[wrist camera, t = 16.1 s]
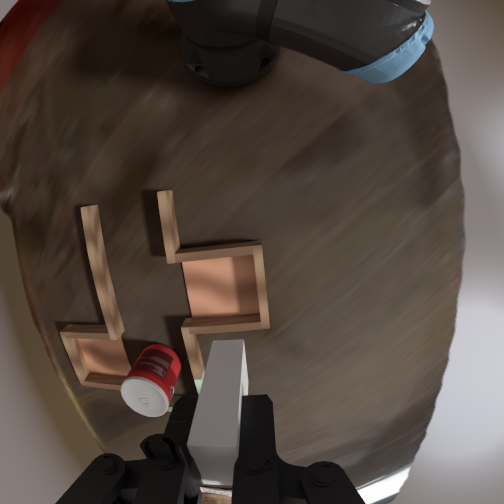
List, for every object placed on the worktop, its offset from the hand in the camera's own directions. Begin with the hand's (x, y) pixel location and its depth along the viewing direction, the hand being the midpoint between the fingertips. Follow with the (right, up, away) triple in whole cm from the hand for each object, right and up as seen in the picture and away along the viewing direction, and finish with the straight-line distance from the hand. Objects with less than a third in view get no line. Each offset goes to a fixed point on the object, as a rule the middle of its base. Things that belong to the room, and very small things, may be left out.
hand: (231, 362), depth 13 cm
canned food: (-15, -14, +32) cm, 38 cm away
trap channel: (-16, -4, +30) cm, 34 cm away
